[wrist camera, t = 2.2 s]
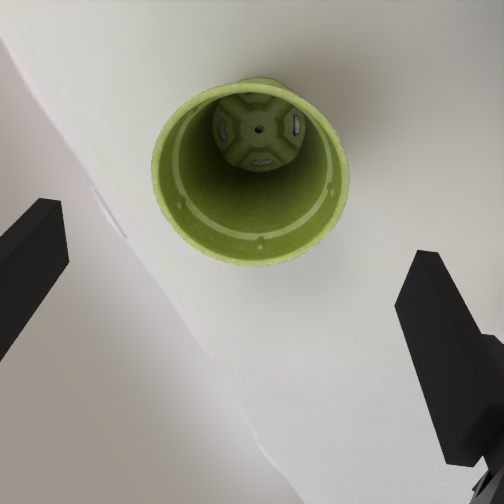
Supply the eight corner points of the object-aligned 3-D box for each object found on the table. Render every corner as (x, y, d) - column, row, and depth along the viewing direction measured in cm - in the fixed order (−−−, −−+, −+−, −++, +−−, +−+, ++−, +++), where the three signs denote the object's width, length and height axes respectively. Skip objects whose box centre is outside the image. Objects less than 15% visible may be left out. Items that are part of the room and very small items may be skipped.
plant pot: (200, 198, 31) (175, 272, 24) (169, 56, 26) (126, 97, 18) (333, 187, 30) (349, 260, 23) (329, 36, 24) (349, 71, 17)
